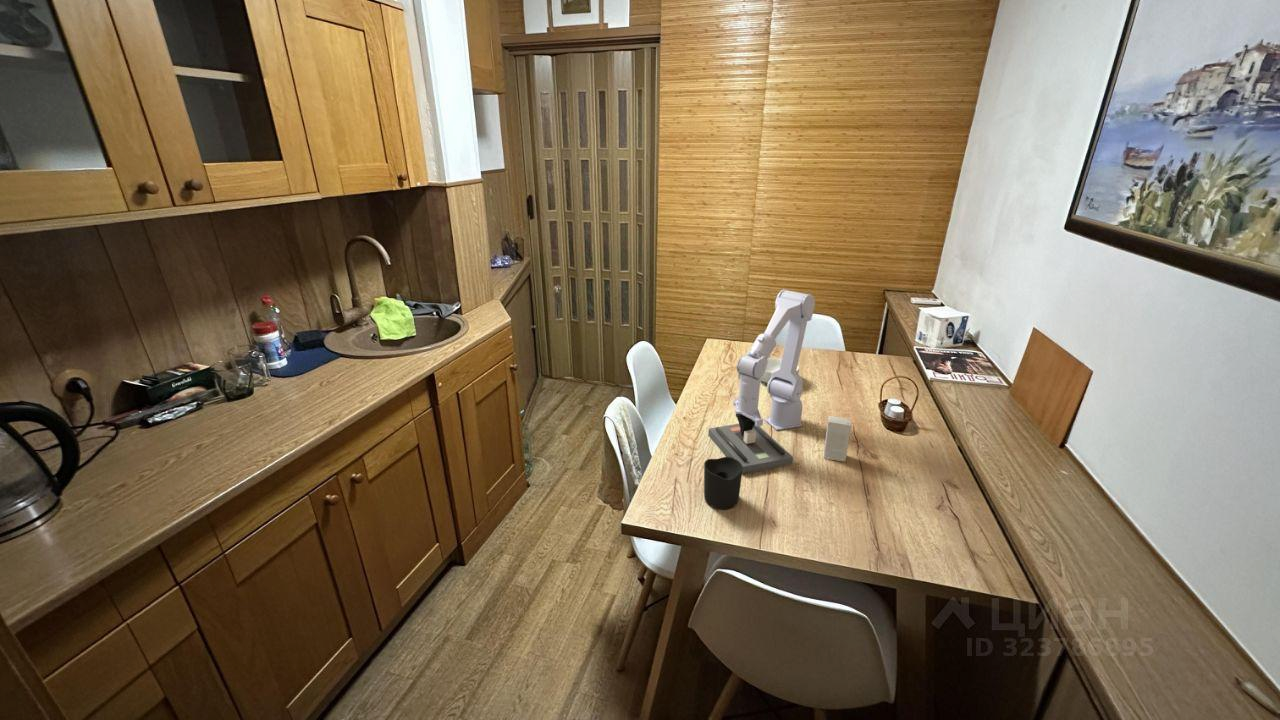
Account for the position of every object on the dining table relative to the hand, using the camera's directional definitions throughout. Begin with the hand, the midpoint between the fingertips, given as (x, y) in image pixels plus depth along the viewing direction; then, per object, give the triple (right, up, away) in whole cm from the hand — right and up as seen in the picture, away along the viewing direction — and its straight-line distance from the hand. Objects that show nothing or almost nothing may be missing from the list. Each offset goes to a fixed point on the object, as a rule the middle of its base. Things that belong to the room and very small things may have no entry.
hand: (745, 436), depth 148 cm
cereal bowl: (+21, +14, +45) cm, 52 cm away
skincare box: (+25, -6, -4) cm, 26 cm away
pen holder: (-11, -13, -22) cm, 28 cm away
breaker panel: (+1, -4, -1) cm, 4 cm away
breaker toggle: (+1, -1, -2) cm, 2 cm away
